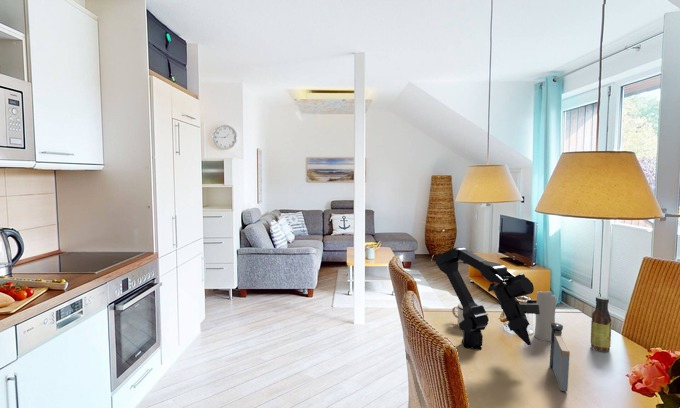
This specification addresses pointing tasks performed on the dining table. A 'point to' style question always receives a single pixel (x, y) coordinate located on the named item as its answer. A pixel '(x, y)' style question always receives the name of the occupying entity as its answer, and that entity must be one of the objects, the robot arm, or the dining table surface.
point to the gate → (561, 362)
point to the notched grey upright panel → (545, 315)
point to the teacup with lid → (460, 313)
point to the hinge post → (555, 329)
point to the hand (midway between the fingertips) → (529, 344)
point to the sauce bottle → (601, 326)
